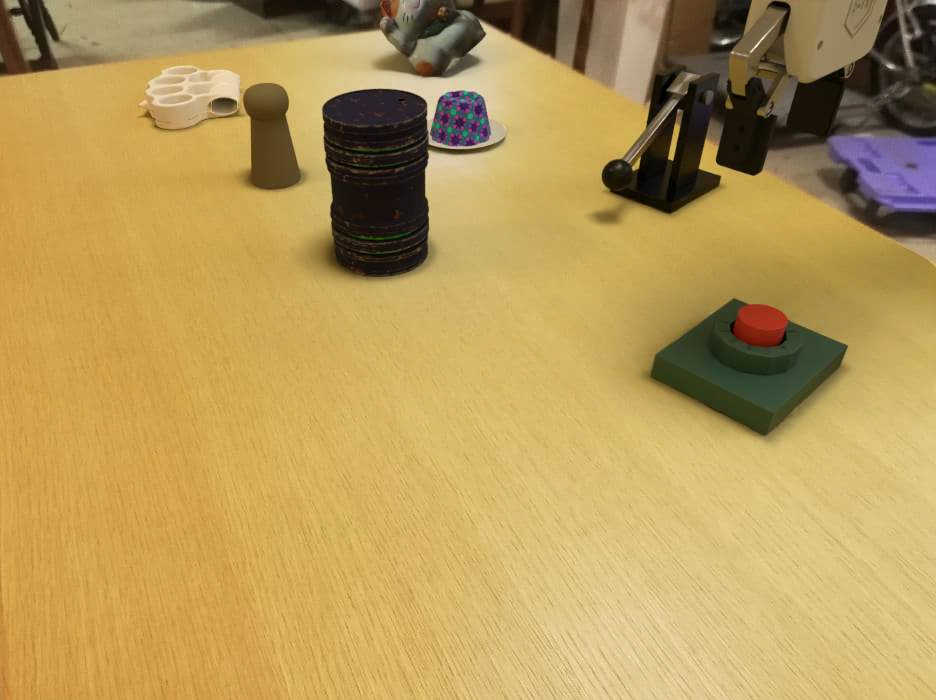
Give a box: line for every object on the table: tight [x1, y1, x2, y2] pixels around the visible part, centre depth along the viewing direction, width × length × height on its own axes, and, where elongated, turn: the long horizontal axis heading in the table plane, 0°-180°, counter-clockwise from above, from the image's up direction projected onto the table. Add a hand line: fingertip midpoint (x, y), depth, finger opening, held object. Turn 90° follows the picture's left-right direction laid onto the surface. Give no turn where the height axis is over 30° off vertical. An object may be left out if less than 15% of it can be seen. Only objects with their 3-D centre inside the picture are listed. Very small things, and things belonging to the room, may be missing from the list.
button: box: [733, 303, 789, 348], centre depth 61 cm, size 4×4×2 cm
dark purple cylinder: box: [321, 88, 430, 277], centre depth 76 cm, size 10×10×15 cm
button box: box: [650, 297, 849, 436], centre depth 63 cm, size 12×10×4 cm
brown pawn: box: [242, 82, 302, 190], centre depth 92 cm, size 6×6×11 cm
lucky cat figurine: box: [379, 0, 487, 77], centre depth 125 cm, size 15×12×14 cm
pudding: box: [427, 89, 507, 150], centre depth 103 cm, size 12×12×5 cm
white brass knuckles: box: [137, 65, 242, 130], centre depth 115 cm, size 3×18×15 cm
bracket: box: [609, 63, 722, 214], centre depth 86 cm, size 10×8×13 cm
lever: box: [601, 71, 701, 191], centre depth 83 cm, size 15×3×3 cm
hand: (773, 149), depth 56 cm, fingers open, 9 cm apart
